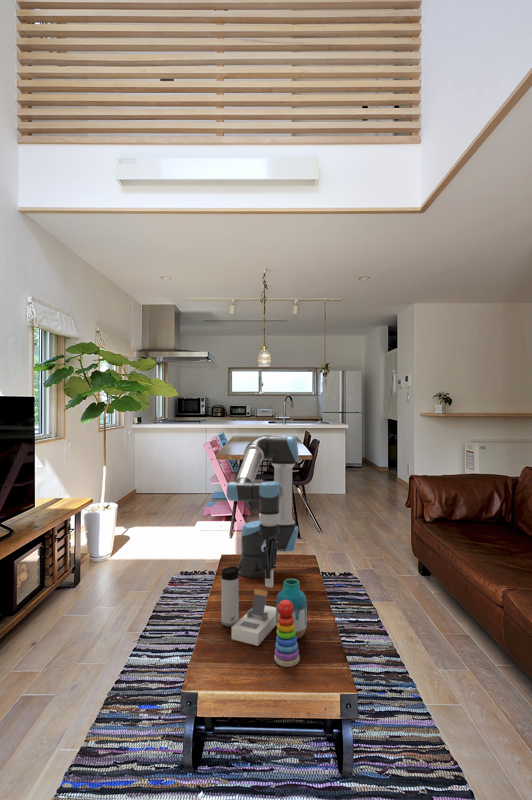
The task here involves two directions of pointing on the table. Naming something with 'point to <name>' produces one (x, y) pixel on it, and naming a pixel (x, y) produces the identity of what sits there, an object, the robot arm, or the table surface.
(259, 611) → the lever
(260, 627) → the switch box
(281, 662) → the stacking toy
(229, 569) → the travel mug
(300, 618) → the vase
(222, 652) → the table surface
